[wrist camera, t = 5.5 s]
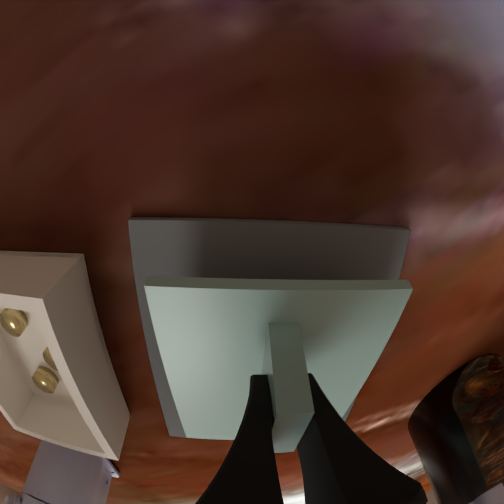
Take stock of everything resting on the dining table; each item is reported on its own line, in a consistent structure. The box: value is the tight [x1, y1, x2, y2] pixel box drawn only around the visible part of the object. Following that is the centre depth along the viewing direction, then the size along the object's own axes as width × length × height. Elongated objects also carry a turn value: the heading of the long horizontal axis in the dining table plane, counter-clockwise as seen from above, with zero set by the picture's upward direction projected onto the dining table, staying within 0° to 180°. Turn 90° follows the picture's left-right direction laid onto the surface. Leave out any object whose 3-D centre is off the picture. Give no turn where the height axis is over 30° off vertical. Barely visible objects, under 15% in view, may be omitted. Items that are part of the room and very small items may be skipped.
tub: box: [0, 251, 130, 461], centre depth 15 cm, size 14×10×4 cm
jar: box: [408, 354, 504, 504], centre depth 16 cm, size 12×12×15 cm
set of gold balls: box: [0, 308, 59, 394], centre depth 16 cm, size 8×5×1 cm, turn 177°
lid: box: [144, 276, 413, 453], centre depth 14 cm, size 14×10×6 cm
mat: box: [128, 217, 411, 437], centre depth 18 cm, size 18×14×1 cm
